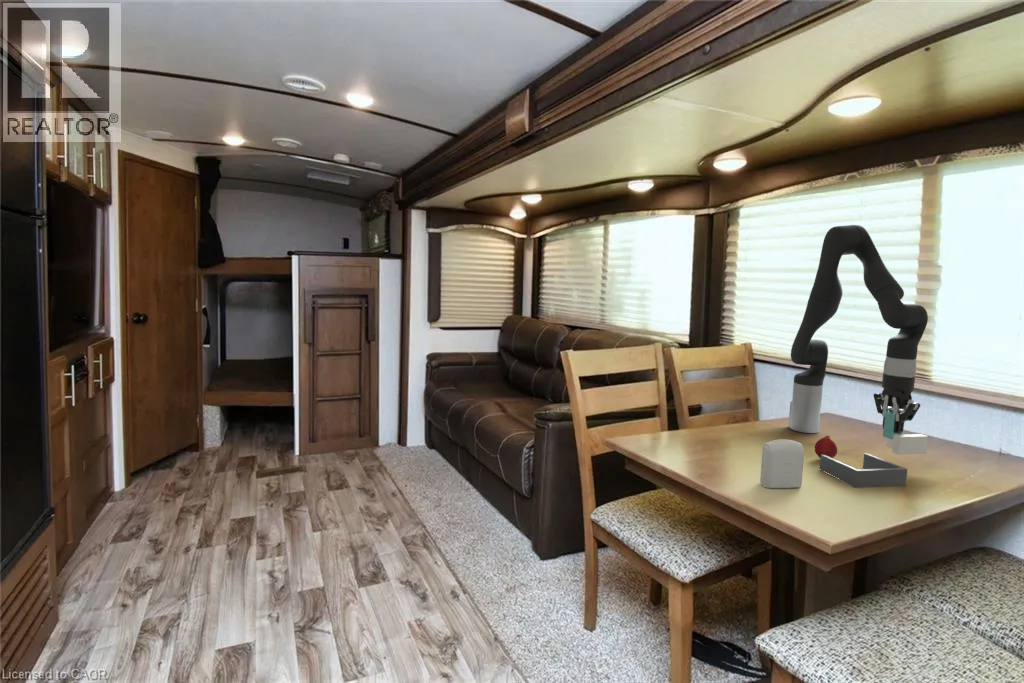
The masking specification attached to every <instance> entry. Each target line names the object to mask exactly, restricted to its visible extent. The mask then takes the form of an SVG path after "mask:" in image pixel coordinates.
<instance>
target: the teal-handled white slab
mask: <svg viewBox="0 0 1024 683" xmlns="http://www.w3.org/2000/svg"><path fill="white" fill-rule="evenodd" d="M900 417H901V413H900ZM895 421H896V420H895V413H894V411H886V413H885V421H884V429H882V430H883V432H882V437H884V438H886V444H885V446H886V447H888V448H891V452H892V454H896V455H898V456H899V455H920V454H927V448H928V442H929V441H928V439H929V436H928V435H926V434H922V433H915V434H902V433H901V434H896V433H894V425H895Z"/></svg>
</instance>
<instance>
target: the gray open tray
mask: <svg viewBox="0 0 1024 683" xmlns="http://www.w3.org/2000/svg"><path fill="white" fill-rule="evenodd" d="M819 459H820V460H819V469H821V470H822V471H825V472H827V473H829V474H831V475H833V476H835V477H837V478H839V479H840V480H839V479H838V480H839V481H841V480H842V481H841V482H843V481H844V482H843V483H845V482H846V483H845V484H847V483H848V484H847V485H849V484H850V486H851V485H852V486H851V487H853V486H854V487H853V488H855V487H859V488H878V487H879V488H880V487H883V488H884V487H902V486H904V487H905V486H906V485H907V478H908V477H907V476H908V468H906V467H903V466H901V465H898V464H895V463H893V462H891V461H888V460H885V459H883V458H881V457H877V456H875V455H873V454H870V453H867V452H866V453H865V452H864V453H863V462H862V469H861V468H860V469H858V468H856V467H853V466H850V465H848V464H847V463H844V462H842V461H840V460H837V459H835V458H834V457H833V458H830V457H828V456H826V455H821V457H819ZM863 468H864V469H863ZM822 471H821V472H822ZM829 474H828V475H829ZM831 475H830V476H831ZM833 476H832V477H833ZM835 477H834V478H835ZM837 478H836V479H837Z"/></svg>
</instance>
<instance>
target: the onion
mask: <svg viewBox="0 0 1024 683" xmlns="http://www.w3.org/2000/svg"><path fill="white" fill-rule="evenodd" d="M814 452H815V455H816V456H817V457H819V458H820V457H821V455H826V456H828V457H830V458H833V459H834V458H835V457H836V455H837V454H838V446H837V445H836V443H835V442H834V441H833V440H832V439H831V437H830V435H829V434H826V435H825V436H823V437H822V438H820V439H818V440H817V441H816V443H814Z"/></svg>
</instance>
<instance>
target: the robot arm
mask: <svg viewBox="0 0 1024 683" xmlns="http://www.w3.org/2000/svg"><path fill="white" fill-rule="evenodd" d="M878 251H879V250H878V249H877V247H876V246H875V243H874V242H873V239H872V238H871V235H870V234H869V231H867V229H866V228H865V227H864V226H861V225H859V224H849V225H838V226H837V225H836V226H832V227H831V228H829V230H827V232H826V233H825V236H824V238H823V242H822V247H821V252H820V258H819V262H818V267H817V270H816V271H817V272H816V275H815V279H814V282H813V286H812V288H811V290H810V294H809V298H808V300H807V303H806V308H805V312H804V315H803V318H802V321H801V323H800V326H799V328H798V330H797V333H796V335H795V337H794V341H793V343H792V345H791V349H790V360H791V362H792V363H793V364H795V365H801V366H809V368H808V369H806V370H805V371H802V372H799V373H796V374H795V375H794V377H793V385H792V386H793V387H792V399H791V400H792V401H790V402H789V412H788V413H789V415H788V425H787V426H788V427H789V429H790V430H791V431H792V430H793V431H796V432H798V433H799V432H800V433H805V434H806V433H807V434H816V433H819V431H820V430H819V429H820V420H821V408H822V398H823V386H824V380H825V377H826V370H827V362H828V359H829V358H828V357H829V347H828V344H827V342H826V341H825V340H823V339H812V338H813V336H814V335H815V333H816V332H817V331H818V330H819V329H820V328H821V327H822V326H823V325H825V324H826V323H827V322H828V321H829V320H830V319H832V317H834V316H835V314H837V311H838V309H839V307H840V304H841V300H842V297H843V287H842V283H841V280H840V278H839V274H838V271H839V270H838V269H839V266H840V261H841V259H842V256H846V255H849V256H850V255H854V256H856V257H857V259H859V261H860V262H861V264H862V266H863V282H864V285H865V287H866V289H867V290H868V292H869V293H870V294H871V296H872V297H873V298H874V300H875V301H876V302H877V305H878V309H879V311H880V315H881V318H882V319H883V321H884V322H885V324H886V325H887V326H889V327H891V328H893V329H897V330H898V329H899V331H898V333H897V335H895V336H892V337H891V338H889V339H888V340H887V346H886V353H885V354H886V355H885V360H884V363H883V373H882V379H881V380H882V382H881V387H882V389H883V390H881V392H880V393H878V392H877V393H876V392H875V393H873V398H874V403H875V406H876V407H875V408H876V411H877V413H878V414H881V415H882V418H883V419H882V430H884V421H885V413H886V411H894V413H895V420H896V421H895V425H894V433H896V434H901V435H902V433H903V432H904V426H905V422H907V421H910V422H911V421H912V420H913V419H914V417H915V416H916V414H917V412H918V411H919V409H920V408H921V403H919V402H915V401H914V400H913V397H912V392H914V390H915V389H914V388H915V383H916V374H917V358H918V357H917V355H918V347H919V343H920V341H921V340H922V337H923V335H924V333H925V329H926V328H927V325H928V321H929V315H928V311H927V310H926V308H925V307H924V306H923V305H921V304H918V303H904V302H902V299H903V298H904V296H905V290H904V289H903V288H902V286H901V285H900V284H899V282H898V281H897V280H896V279H895V277H894V276H893V275H892V273H891V272H890V271H889V270H888V268H887V266H886V265H885V263H884V261H883V260H882V257H881V255H880V253H879V252H878ZM900 413H901V417H900Z"/></svg>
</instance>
